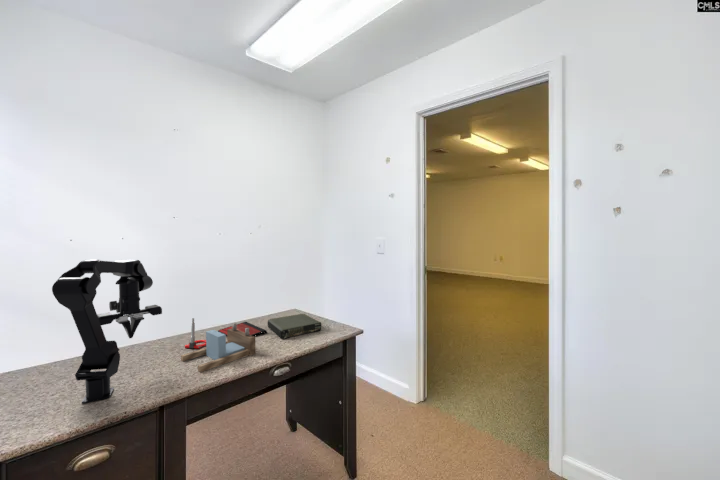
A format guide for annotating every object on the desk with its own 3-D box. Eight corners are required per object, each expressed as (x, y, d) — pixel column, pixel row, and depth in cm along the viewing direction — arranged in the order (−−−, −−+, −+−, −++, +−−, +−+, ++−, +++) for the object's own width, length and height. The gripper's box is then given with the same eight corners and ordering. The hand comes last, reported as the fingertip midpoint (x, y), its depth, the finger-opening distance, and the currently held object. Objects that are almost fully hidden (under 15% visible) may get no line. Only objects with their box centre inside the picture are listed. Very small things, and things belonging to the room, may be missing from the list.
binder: (246, 320, 164) (266, 329, 150) (246, 325, 165) (267, 334, 150) (215, 329, 153) (235, 339, 138) (216, 333, 153) (235, 344, 139)
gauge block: (218, 362, 118) (218, 336, 117) (206, 355, 124) (205, 331, 123) (244, 353, 126) (244, 329, 126) (232, 347, 132) (231, 324, 132)
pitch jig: (201, 373, 109) (200, 345, 108) (180, 359, 120) (179, 334, 119) (255, 353, 126) (255, 329, 125) (232, 343, 137) (232, 321, 136)
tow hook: (197, 341, 140) (182, 348, 131) (197, 313, 141) (183, 318, 131) (213, 342, 139) (200, 349, 130) (214, 314, 139) (200, 319, 130)
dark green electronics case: (284, 342, 140) (284, 331, 140) (261, 329, 157) (261, 320, 157) (325, 330, 156) (325, 320, 155) (301, 320, 173) (301, 311, 173)
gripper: (151, 288, 122) (152, 327, 122) (90, 296, 107) (91, 340, 108) (162, 291, 115) (163, 333, 115) (97, 300, 100) (99, 347, 101)
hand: (130, 337), depth 110 cm, fingers closed
